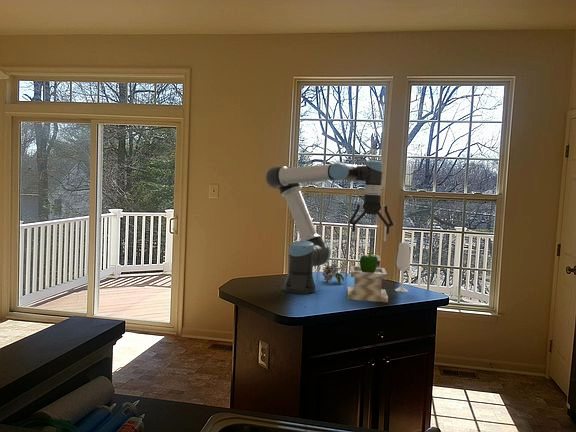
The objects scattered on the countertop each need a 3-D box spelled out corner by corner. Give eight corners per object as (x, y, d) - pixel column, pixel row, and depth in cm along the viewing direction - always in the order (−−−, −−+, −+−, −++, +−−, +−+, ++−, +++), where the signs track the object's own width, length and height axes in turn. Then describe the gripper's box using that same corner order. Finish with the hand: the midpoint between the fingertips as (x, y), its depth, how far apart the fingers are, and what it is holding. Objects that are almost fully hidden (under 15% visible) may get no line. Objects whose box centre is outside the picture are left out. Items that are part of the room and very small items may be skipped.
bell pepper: (362, 274, 211) (364, 253, 210) (356, 271, 219) (358, 250, 218) (380, 274, 212) (381, 253, 212) (373, 271, 220) (374, 250, 220)
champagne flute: (393, 288, 236) (395, 242, 234) (405, 289, 236) (408, 242, 235) (397, 291, 229) (400, 243, 227) (410, 292, 229) (413, 244, 228)
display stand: (347, 299, 208) (348, 271, 208) (347, 290, 226) (349, 265, 225) (387, 302, 206) (389, 274, 205) (384, 293, 224) (386, 268, 223)
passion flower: (326, 292, 244) (316, 272, 248) (341, 286, 251) (331, 267, 254) (337, 284, 236) (326, 263, 240) (352, 278, 242) (341, 258, 246)
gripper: (345, 193, 211) (342, 239, 212) (401, 195, 208) (398, 242, 209) (345, 193, 218) (343, 237, 220) (399, 195, 215) (396, 240, 216)
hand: (369, 240), depth 214 cm, fingers open, 13 cm apart
